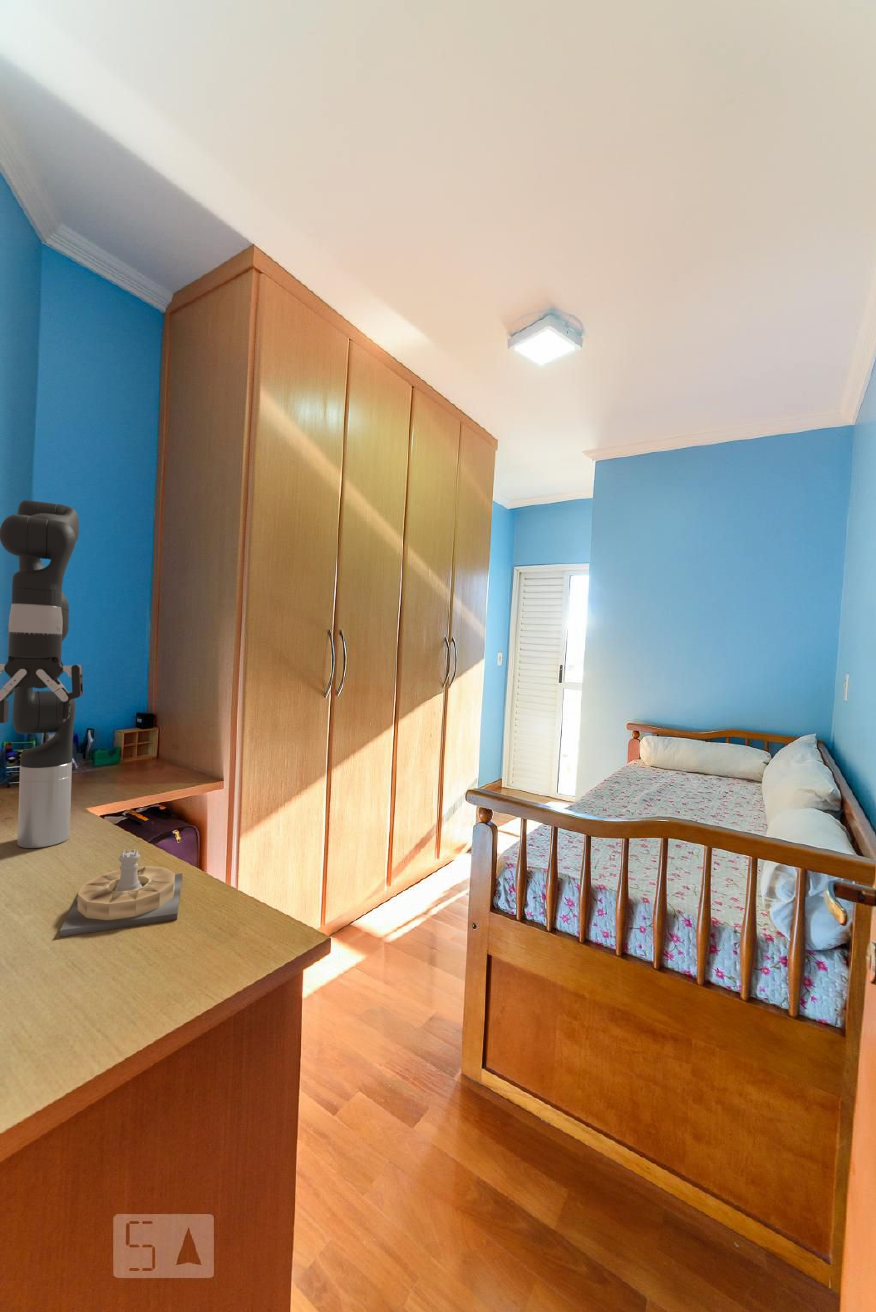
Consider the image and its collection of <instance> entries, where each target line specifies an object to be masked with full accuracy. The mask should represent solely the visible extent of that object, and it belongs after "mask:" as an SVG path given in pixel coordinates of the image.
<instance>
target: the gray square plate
mask: <svg viewBox="0 0 876 1312" xmlns="http://www.w3.org/2000/svg"><path fill="white" fill-rule="evenodd" d="M120 875H121V869H120V868H119V869H116V870H113V871H109V872H106V873H102V874H99V875H98V876H96V877H94V878H92V879H90V880H88V881H87V882H85V883H83V884H82V886H81V888H80V890H79V892H78V893H77V897H76V899H75V901H74V903H73V905H72V907H71V908H70V910H69V913H68V914H67V917H66V918H65V920H64V922H63V923H62V926H61V928H60V930H59V938H60V937H66V936H67V937H68V936H74V935H75V936H76V935H80V934H87V933H95V932H100V931H108V930H115V929H121V928H128V927H135V926H141V925H142V926H143V925H147V924H148V925H149V924H155V923H162V922H169V921H174V920H178V915H179V906H180V898H181V892H182V884H183V873H175V872H173V871H171V870H169V869H168V868H166V867H162V866H161V867H160V866H150V865H143V866H142V865H141V866H138V867H137V875H138V880H139V881H140V884H141V885H142V887H141V888H138V889H135V890H132V891H124V892H117V891H115V889H116V887H117V885H118V884H119V880H120Z"/></svg>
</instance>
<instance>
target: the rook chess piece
mask: <svg viewBox="0 0 876 1312" xmlns="http://www.w3.org/2000/svg"><path fill="white" fill-rule="evenodd" d="M140 858H141V855H140V854H139V850H137V849H131V851H130V849H126V850H125V851H122V852H121V853H120V855H119V857H118V861H119V862H120V867H119V869H121V875H120V880H119V884H118V885H117V887H116V889H115V891H117V892H124V891H132V890H135V889H138V888H141V887H142V885H141V884H140V881H139V880H138V875H137V867H139V864H138V861H139V859H140Z"/></svg>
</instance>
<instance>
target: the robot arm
mask: <svg viewBox="0 0 876 1312" xmlns="http://www.w3.org/2000/svg"><path fill="white" fill-rule="evenodd" d="M79 536H80V520H79V515H78V513H77V511H76V510H75V509H74V508H73V507H70V506H68V505H64V504H61V503H60V504H59V503H53V502H52V503H51V502H47V501H46V502H44V501H37V500H22V501H20V503H19V506H18V508H17V514H12V515H9V516H8V517H6V518H5V519H4V520H3V521H2V523H1V525H0V543H1V545H2V547H3V548H4V550H6V551H7V552H8V553H9V554H11V555H13V556H17V557H18V570H19V571H17V572H15V573H14V574H13V575H12V581H11V582H12V583H11V588H12V589H11V607H10V612H9V617H8V619H9V620H8V626H7V629H8V643H7V644H8V646H7V647H8V648H7V649H8V650H7V651H8V652H7V654H8V655H7V661H6V663H0V675H2V673H3V671H4V672H5V673H6V674H7V675H8V676H9V677H10V679H9V681H8V680H7V682H6V683H5V684H4V685H3V686H2V688H1V689H0V724H6V723H8V722H9V711H10V710H9V708H10V707H9V706H10V701H9V700H8V698H9V697H10V696H11V695H12V694H13V693H14V695H13V703H12V704H13V705H12V725H13V728H14V731H15V732H16V733H17V734H18V735H19V734H20V735H27V734H28V735H31V734H33V735H34V734H48V733H54V736H53V737H51V738H50V739H49V740H47V741H45V742H43V743H41V744H39V745H36V746H34V747H31V748H28V749H25V750H24V751H22V752H21V754H20V757H19V784H18V785H19V787H18V789H19V790H18V792H19V793H18V817H17V819H18V820H17V844H16V845H17V846H18V847H21V848H24V849H35V848H36V849H37V848H38V849H39V848H46V847H49V846H55V845H57V844H61V843H63V842H65V841H67V840H69V838H70V834H71V833H70V832H71V830H70V829H71V802H72V801H71V800H72V778H73V776H72V774H73V772H72V769H73V744H74V743H73V739H74V728H75V718H76V699H79V698H81V697H83V695H84V678H83V676H84V675H83V666H82V665H81V664H74V665H64V664H63V662H62V654H63V653H62V651H63V650H62V647H63V646H62V645H63V642H64V640H65V639H66V638H67V636H68V633H69V631H70V630H69V628H70V627H69V626H70V604H69V601H68V599H67V597H66V595H65V594H64V592H63V582H64V577H65V573H66V569H67V567H68V564H69V562H70V559H71V557H72V555H73V553H74V550H75V547H76V543H77V542H78V539H79ZM41 559H42V560H43V559H44V560H50V562H49V563H48V564H47V566H44V564H43V561H42V560H41ZM64 672H65V673H66V674H67V676H68V677H69V678H71V691H69V690H67V688H66V687H65V685H64V684H63V683H62V682H61V681H60V680H59V678H60V677H61V675H62V674H63V673H64ZM46 688H49V690H44V689H46ZM34 689H43V690H34Z"/></svg>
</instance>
